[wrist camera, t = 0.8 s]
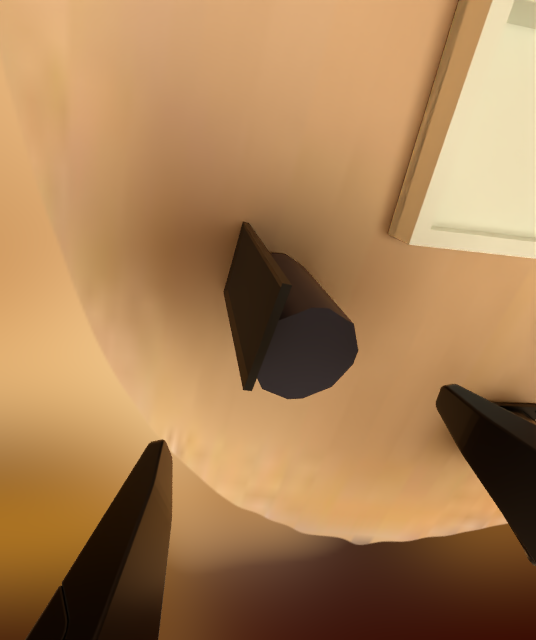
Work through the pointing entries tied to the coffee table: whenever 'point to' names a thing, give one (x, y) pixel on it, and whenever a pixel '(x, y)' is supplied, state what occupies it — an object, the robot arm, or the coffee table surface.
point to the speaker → (284, 323)
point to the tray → (477, 138)
